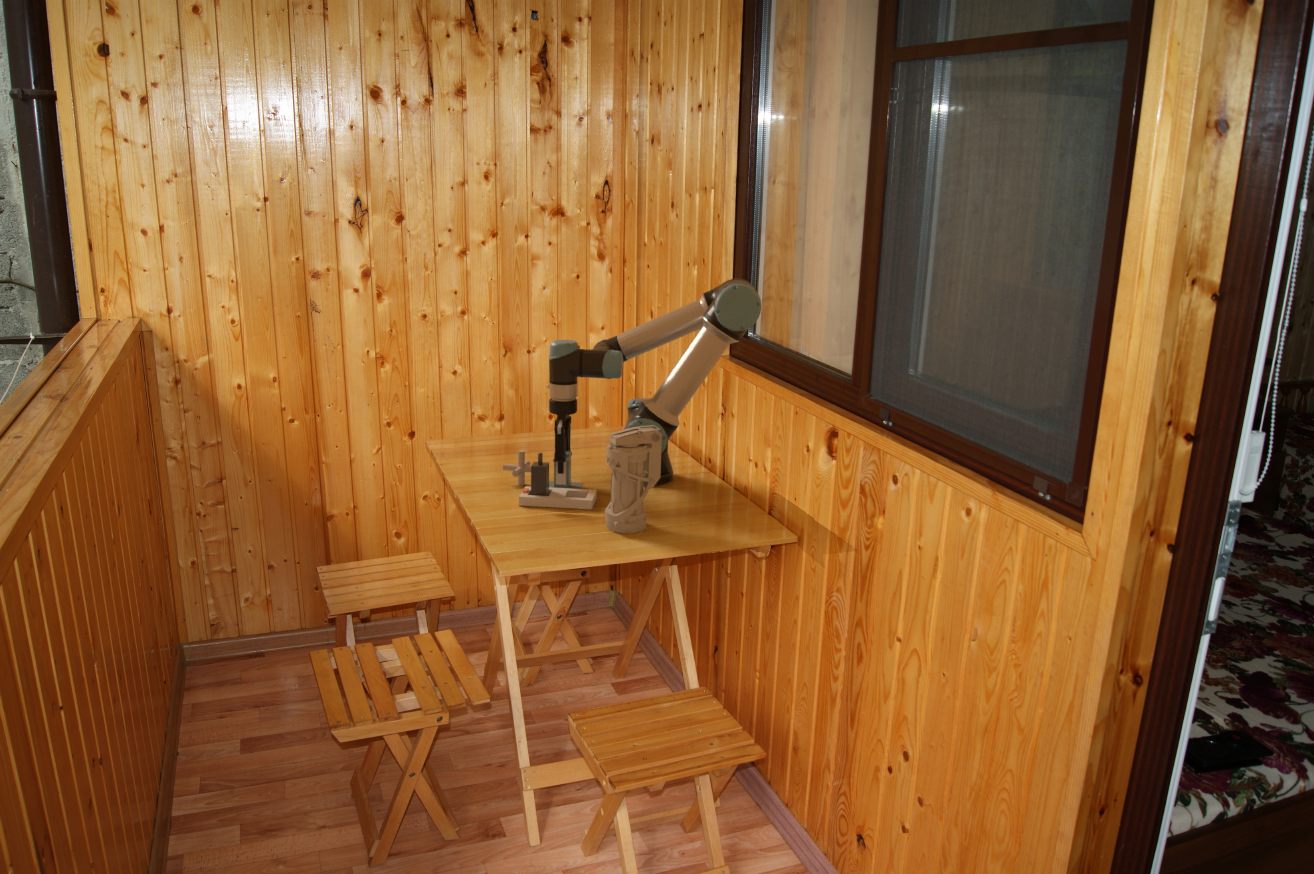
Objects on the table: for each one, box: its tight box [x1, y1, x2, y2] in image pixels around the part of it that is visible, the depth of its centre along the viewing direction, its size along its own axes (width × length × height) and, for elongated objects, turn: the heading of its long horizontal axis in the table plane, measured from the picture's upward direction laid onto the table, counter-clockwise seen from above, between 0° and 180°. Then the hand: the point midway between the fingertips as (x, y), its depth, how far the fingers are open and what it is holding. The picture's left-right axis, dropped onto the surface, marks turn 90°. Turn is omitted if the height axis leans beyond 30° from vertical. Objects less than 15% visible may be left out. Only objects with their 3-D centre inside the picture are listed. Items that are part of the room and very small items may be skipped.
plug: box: [553, 450, 572, 488], centre depth 283 cm, size 4×4×10 cm
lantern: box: [604, 425, 662, 534], centre depth 254 cm, size 13×10×25 cm
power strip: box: [518, 485, 598, 511], centre depth 271 cm, size 19×9×4 cm, turn 86°
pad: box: [549, 480, 584, 489], centre depth 284 cm, size 10×10×1 cm
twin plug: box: [530, 452, 550, 496], centre depth 270 cm, size 4×4×13 cm
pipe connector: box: [502, 449, 532, 486], centre depth 284 cm, size 10×10×10 cm
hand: (562, 481), depth 284 cm, fingers closed on plug, 4 cm apart
